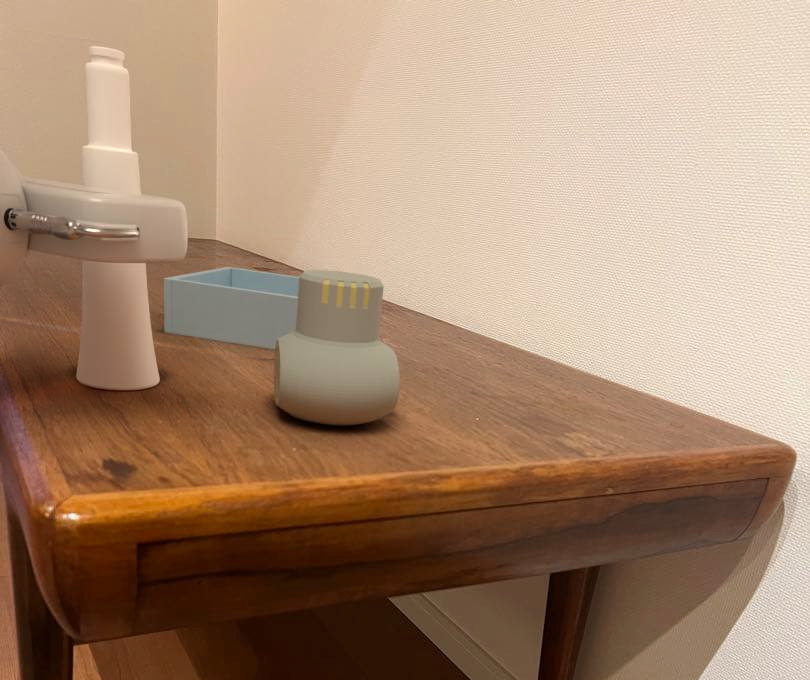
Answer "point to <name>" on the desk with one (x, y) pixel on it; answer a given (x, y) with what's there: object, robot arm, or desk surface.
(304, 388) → the air freshener
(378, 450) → the desk surface
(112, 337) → the cosmetic bottle
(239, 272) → the basket
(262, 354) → the desk surface
